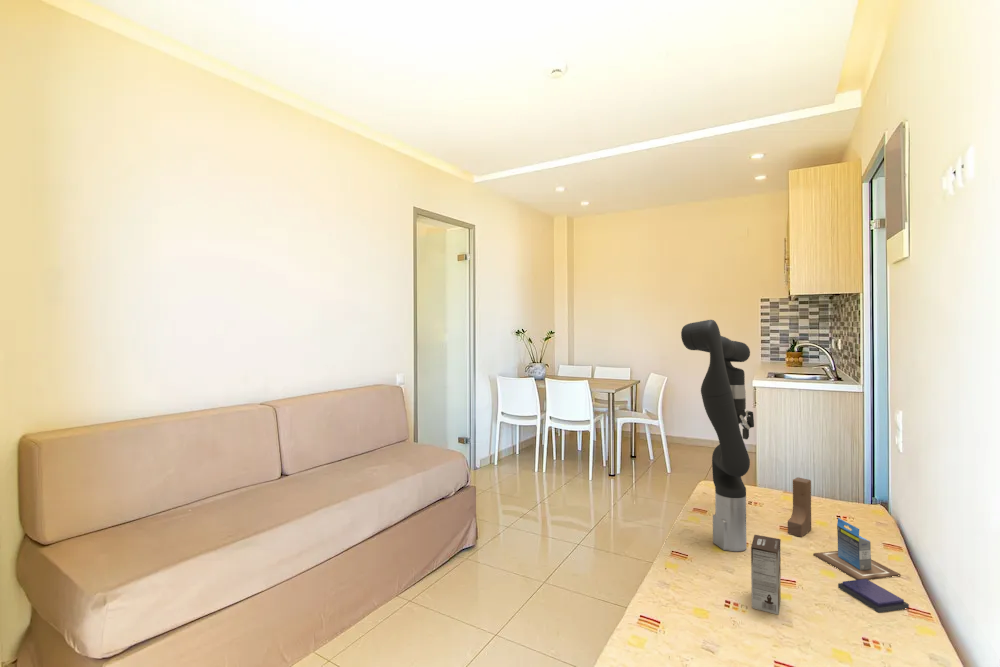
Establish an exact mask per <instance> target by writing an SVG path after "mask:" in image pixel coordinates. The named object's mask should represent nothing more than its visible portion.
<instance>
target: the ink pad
mask: <svg viewBox="0 0 1000 667" xmlns="http://www.w3.org/2000/svg"><path fill="white" fill-rule="evenodd" d="M837 588H838V589H839V588H840V590H841V591H843V592H844V593H846V594H848V595H849V596H851V597H852V598H854V599H856V600H857V601H859V602H861V603H862V604H864V605H865V606H867V607H869V608H870V609H872V610H874V611H875V612H877V613H879V614H880V613H886V612H887V613H888V612H893V611H903V610H906V609H905V608H910V604H909V603H907V602H906V601H905V600H904V599H903V598H901V597H899V596H898V595H895V594H894V593H892V592H891V591H889V590H887V589H885V588H883V587H882V586H880V585H878V584H876V583H874V582H873V581H871V580H867V579H861V580H856V579H852V580H845V581H842V582H839V583H838V584H837ZM902 609H903V610H902Z"/></svg>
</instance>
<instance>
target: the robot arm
mask: <svg viewBox="0 0 1000 667" xmlns="http://www.w3.org/2000/svg"><path fill="white" fill-rule="evenodd" d="M680 334H681V336H680V338H681V341H682V344H683V346H684V347H685V348H686V349H687V350H689V351H698V352H699V351H700V352H706V353H709V364H708V368H707V371H706V374H705V376H704V377H703V380H702V383H701V386H700V394H701V395H700V396H701V399H702V403H703V408H704V410H705V412H706V415H707V418H708V419H709V421H710V423H711V425H712V427H713V429H714V431H715V433H716V435H717V438H718V443H719V444H718V445H717V446H715V448H714V449H713V451H712V458H711V468H712V481H713V485H714V491H715V492H714V494H715V495H714V496H715V497H714V498H715V500H714V501H715V502H714V505H715V507H714V508H715V509H714V510H715V514H712V543H713V544H715V545H716V546H717V547H719V548H720V549H721V550H722V551H730V552H743V551H745V550H747V488H746V485H745V484H744V482H743V480H742V477H744V476H745V475H746V474H747V473H748V472H749V470H750V465H751V459H750V456H749V453H748V450H747V447H746V445H745V442H744V440H748V439H749V437H750V429H751V428H754V427H755V421H754V420H755V419H754V412H753V411H751V410H746V408H747V407H746V406H747V405H746V404H747V403H746V402H747V399H746V397H747V396H746V395H747V394H746V384H745V383H746V382H745V381H746V380H745V371H744V369H742V368H740V367H736V366H734V365H733V364H732V363H744V362H747V360H749V359H750V356H751V350H750V347H749V346H748V345H747V344H746V343H745V342H741V341H737V340H732V339H731V338H728V337H726V336H724V335H723V336H722V335H721V332H720V328H719V325H718V323H717V322H716V321H715V320H713V319H706V320H701V321H695V322H690V323H687V324H685V325H684V326H682V329H681V331H680ZM745 417H746V419H745ZM740 426H741V427H742V433H741V427H740Z"/></svg>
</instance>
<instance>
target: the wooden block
mask: <svg viewBox="0 0 1000 667" xmlns="http://www.w3.org/2000/svg"><path fill="white" fill-rule="evenodd" d="M811 531H812V480H811V479H807V478H802V477H800V476H798V477H796V478H794V479H792V512H791V516H790V517H789V519H788V520H787V533H788V534H790V535H792V536H797V537H800V538H802V537H803V536H806V535H807V534H809V532H811Z"/></svg>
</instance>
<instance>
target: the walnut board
mask: <svg viewBox="0 0 1000 667" xmlns="http://www.w3.org/2000/svg"><path fill="white" fill-rule="evenodd" d="M813 556H814V557H816V558H817V557H818V558H817V559H819V560H821V561H822V562H825V563H826V562H827V563H826V564H828V563H829V564H828V565H830V564H831V565H832V566H831V565H830V566H831V567H833V566H834V567H833V568H835V567H836V568H835V569H837V568H838V569H839V570H838V569H837V570H838V571H840V570H841V571H840V572H842V573H844V574H845V573H846V574H845V575H847V576H849V577H851V578H852V579H853V580H861V579H867V580H869V581H871V579H872V580H878V579H887V578H886V577H889V578H893V577H892V576H898V575H900V576H901V573H900V572H899V573H898V572H897V571H895V570H893V569H892V568H889V567H888V566H885V565H883V564H881V563H880V562H877V561H876V560H874V559H872V558H871V568H872V569H869V570H859V569H858V568H856V567H855V566H853V565H851V564H850V563H848V562H846V561H845V560H843V559H841V558H840V557H838V550H833V551H824V552H821V551H820V552H813ZM898 577H899V576H898Z"/></svg>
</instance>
